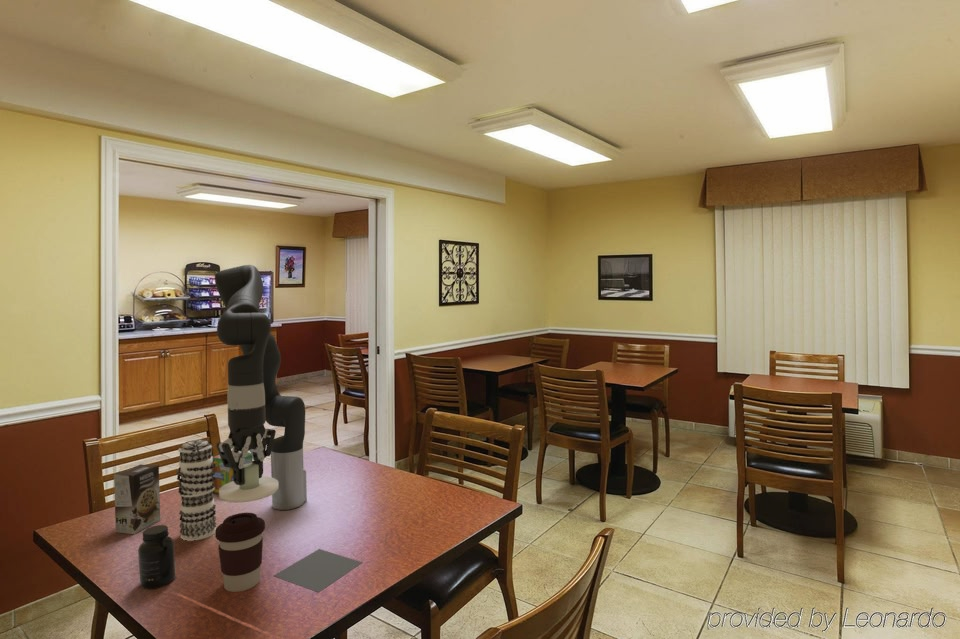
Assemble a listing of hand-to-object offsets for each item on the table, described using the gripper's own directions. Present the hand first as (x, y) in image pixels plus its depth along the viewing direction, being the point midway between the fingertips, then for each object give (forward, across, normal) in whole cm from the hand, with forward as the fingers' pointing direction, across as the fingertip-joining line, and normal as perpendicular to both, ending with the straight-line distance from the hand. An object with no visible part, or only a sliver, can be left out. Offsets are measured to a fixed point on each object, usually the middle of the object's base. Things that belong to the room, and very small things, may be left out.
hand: (248, 480), depth 115 cm
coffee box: (+24, -6, -52) cm, 58 cm away
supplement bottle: (+24, +9, -20) cm, 32 cm away
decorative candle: (+24, -10, -33) cm, 42 cm away
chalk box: (+24, -36, -53) cm, 68 cm away
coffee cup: (+24, +1, -1) cm, 24 cm away
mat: (+23, -10, +10) cm, 27 cm away
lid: (+2, 0, 0) cm, 2 cm away
